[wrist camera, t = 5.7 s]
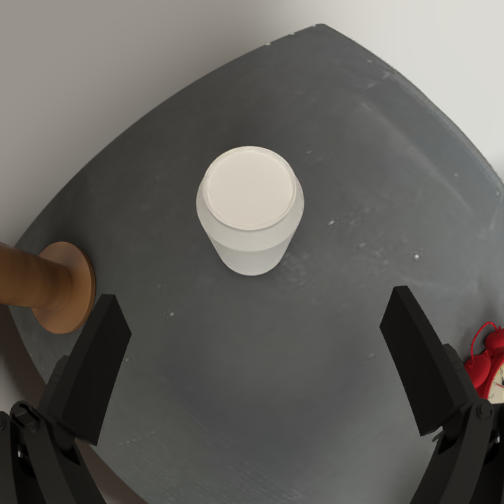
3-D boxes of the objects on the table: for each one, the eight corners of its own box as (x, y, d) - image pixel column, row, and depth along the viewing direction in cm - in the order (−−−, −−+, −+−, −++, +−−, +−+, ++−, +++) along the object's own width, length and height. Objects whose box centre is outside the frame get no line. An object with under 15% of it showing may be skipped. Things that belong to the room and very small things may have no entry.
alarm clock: (486, 450, 16) (485, 374, 16) (458, 432, 22) (444, 357, 22) (530, 391, 17) (531, 304, 17) (501, 380, 23) (493, 300, 23)
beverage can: (204, 250, 26) (165, 198, 14) (244, 200, 27) (238, 120, 15) (258, 291, 25) (263, 268, 13) (297, 236, 26) (330, 175, 14)
